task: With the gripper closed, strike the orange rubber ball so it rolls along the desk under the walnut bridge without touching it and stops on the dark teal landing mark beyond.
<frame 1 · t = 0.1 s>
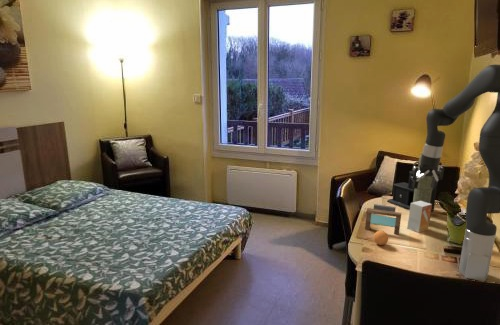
hand: (423, 187, 164), 22 cm above the table, tool pointing down, fingers open, 8 cm apart
landing mark: (382, 220, 184), on the table
syrup box: (455, 241, 162), on the table
small box: (417, 229, 175), on the table
black drawer cabinet: (409, 207, 207), on the table
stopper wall: (384, 211, 198), on the table
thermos: (418, 220, 186), on the table
ball: (380, 237, 156), on the table
bridge: (381, 230, 172), on the table
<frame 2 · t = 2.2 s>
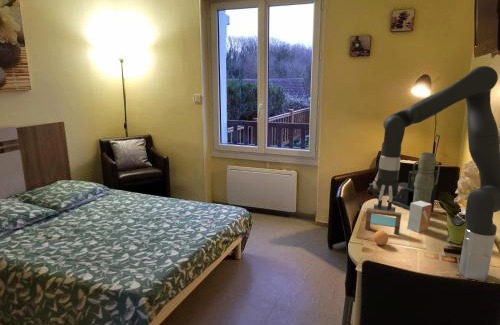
hand: (384, 209, 144), 19 cm above the table, tool pointing down, fingers closed
nothing on the table moved.
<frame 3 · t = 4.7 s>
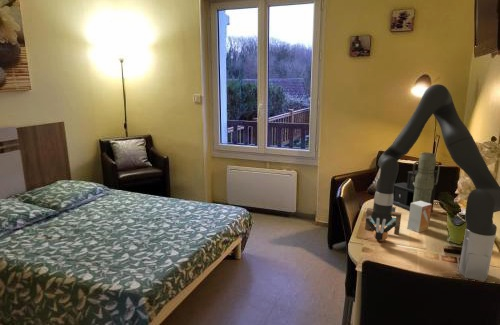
hand: (378, 239, 157), 2 cm above the table, tool pointing down, fingers closed
ball: (380, 233, 161), on the table
everything else where it was.
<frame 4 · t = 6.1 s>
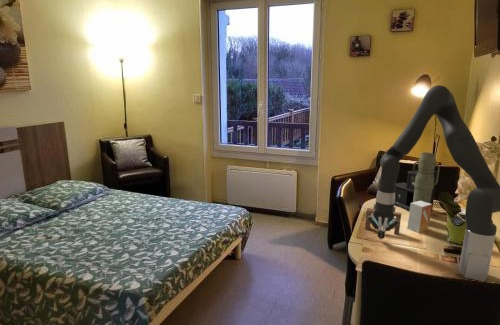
hand: (380, 238, 160), 1 cm above the table, tool pointing down, fingers closed
ball: (381, 217, 180), on the table
everything else where it was.
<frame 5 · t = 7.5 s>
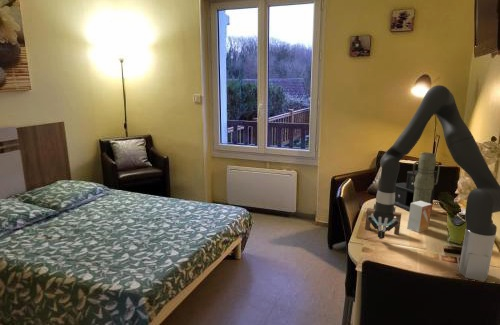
hand: (380, 238, 160), 1 cm above the table, tool pointing down, fingers closed
ball: (382, 213, 187), on the table
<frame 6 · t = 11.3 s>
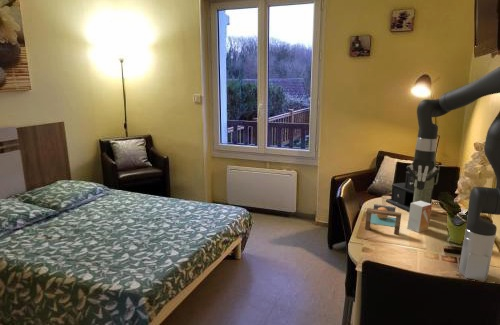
hand: (419, 189, 152), 25 cm above the table, tool pointing down, fingers closed
at the end: ball 2.9 cm from the landing mark (horizontally); ball never touched bridge; ball at rest at the end (0.0 cm/s) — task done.
